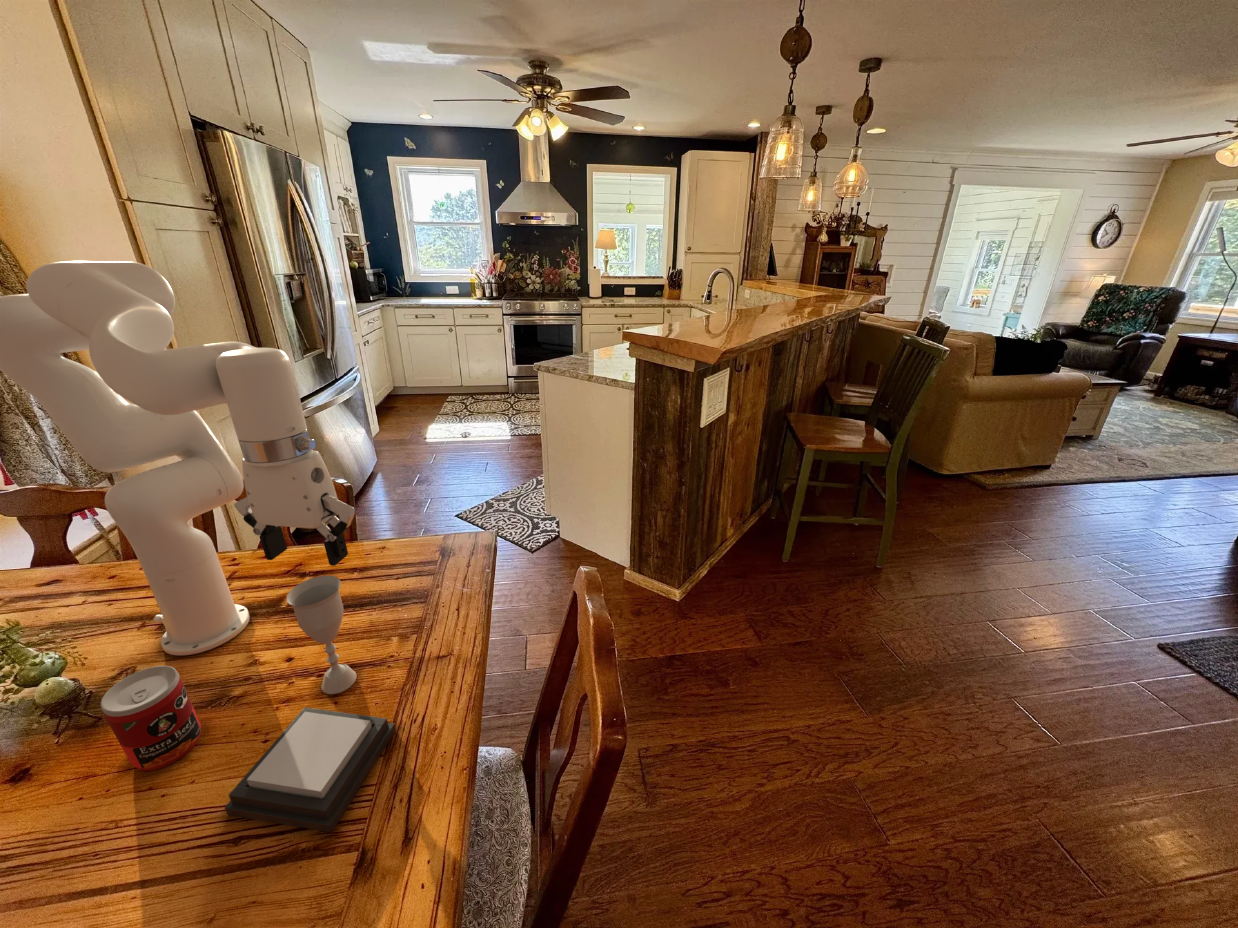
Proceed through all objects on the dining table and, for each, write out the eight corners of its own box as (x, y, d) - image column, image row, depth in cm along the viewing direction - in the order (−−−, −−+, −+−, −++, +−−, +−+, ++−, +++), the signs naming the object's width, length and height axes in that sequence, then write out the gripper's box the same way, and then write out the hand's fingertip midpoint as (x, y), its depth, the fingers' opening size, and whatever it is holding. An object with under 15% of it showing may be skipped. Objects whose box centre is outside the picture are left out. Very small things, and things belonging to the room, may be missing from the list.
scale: (227, 814, 61) (220, 798, 59) (308, 718, 73) (303, 703, 72) (331, 832, 59) (326, 816, 58) (396, 730, 72) (392, 715, 70)
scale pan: (249, 787, 61) (246, 779, 61) (307, 719, 70) (304, 711, 70) (323, 799, 60) (320, 791, 59) (372, 728, 69) (370, 720, 69)
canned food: (144, 783, 64) (111, 723, 60) (122, 753, 68) (90, 693, 64) (213, 739, 70) (188, 681, 66) (189, 713, 74) (164, 656, 70)
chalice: (341, 703, 76) (315, 609, 69) (303, 695, 77) (274, 602, 70) (372, 667, 82) (351, 578, 76) (337, 661, 84) (313, 572, 77)
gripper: (356, 439, 66) (379, 548, 73) (241, 433, 68) (273, 539, 75) (317, 460, 60) (347, 578, 66) (191, 452, 62) (231, 567, 68)
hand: (308, 557), depth 71 cm, fingers open, 9 cm apart
